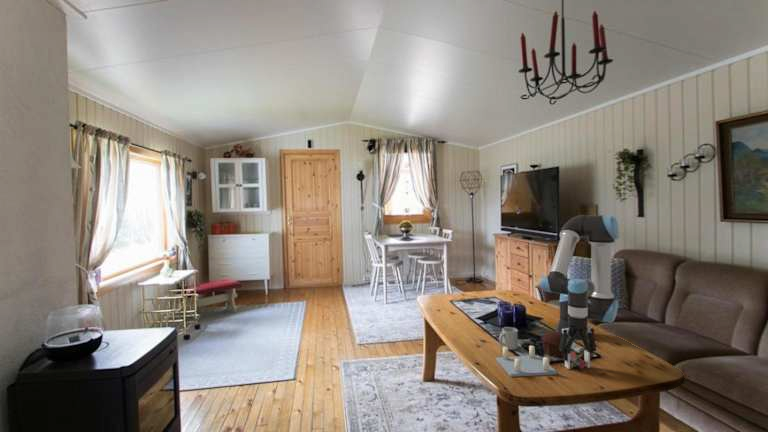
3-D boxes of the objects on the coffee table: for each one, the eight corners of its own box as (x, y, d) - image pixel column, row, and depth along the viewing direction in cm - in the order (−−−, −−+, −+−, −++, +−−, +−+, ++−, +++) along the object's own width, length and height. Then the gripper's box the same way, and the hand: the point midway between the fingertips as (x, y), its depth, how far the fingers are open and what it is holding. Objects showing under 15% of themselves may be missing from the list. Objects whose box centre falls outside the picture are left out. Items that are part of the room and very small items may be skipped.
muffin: (554, 347, 179) (554, 327, 179) (573, 355, 169) (573, 334, 169) (535, 351, 175) (535, 330, 175) (554, 360, 165) (554, 338, 164)
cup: (520, 348, 178) (520, 330, 178) (504, 352, 174) (504, 333, 174) (510, 343, 185) (510, 326, 184) (494, 346, 181) (494, 328, 181)
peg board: (538, 357, 167) (538, 344, 167) (557, 374, 151) (557, 359, 151) (495, 359, 166) (495, 346, 166) (510, 376, 150) (510, 362, 150)
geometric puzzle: (594, 365, 154) (582, 346, 158) (585, 369, 151) (574, 350, 155) (580, 370, 159) (570, 352, 163) (571, 374, 156) (561, 355, 160)
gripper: (595, 311, 161) (594, 362, 162) (549, 313, 159) (549, 364, 160) (606, 317, 153) (606, 369, 154) (558, 319, 152) (558, 372, 153)
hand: (577, 367), depth 157 cm, fingers open, 8 cm apart
